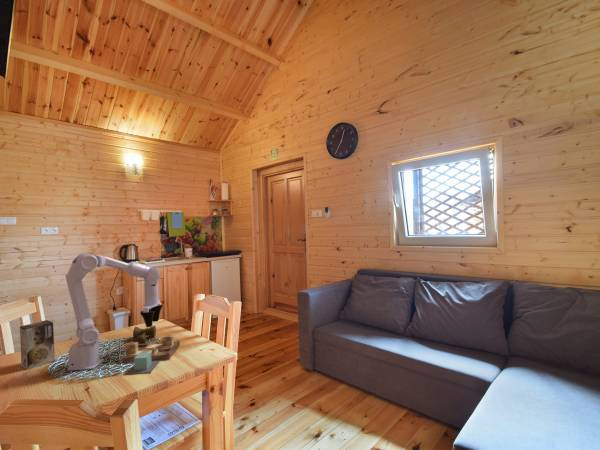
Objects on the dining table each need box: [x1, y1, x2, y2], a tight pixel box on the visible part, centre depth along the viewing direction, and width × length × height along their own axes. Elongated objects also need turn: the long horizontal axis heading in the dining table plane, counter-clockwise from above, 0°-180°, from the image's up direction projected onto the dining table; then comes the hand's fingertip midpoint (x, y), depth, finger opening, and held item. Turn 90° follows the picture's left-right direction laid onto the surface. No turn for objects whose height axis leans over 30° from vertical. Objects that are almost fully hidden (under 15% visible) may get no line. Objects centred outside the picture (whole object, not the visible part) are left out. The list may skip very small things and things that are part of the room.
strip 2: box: [145, 334, 175, 349], centre depth 134 cm, size 11×4×5 cm, turn 95°
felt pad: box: [124, 360, 160, 376], centre depth 117 cm, size 9×9×1 cm
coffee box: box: [19, 319, 56, 370], centre depth 124 cm, size 9×6×16 cm
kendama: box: [132, 325, 157, 344], centre depth 146 cm, size 6×10×20 cm
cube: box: [133, 353, 153, 370], centre depth 117 cm, size 4×4×4 cm
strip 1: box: [124, 341, 158, 356], centre depth 127 cm, size 12×4×5 cm, turn 95°
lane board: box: [121, 340, 181, 364], centre depth 130 cm, size 18×14×2 cm
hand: (152, 324), depth 137 cm, fingers open, 7 cm apart
